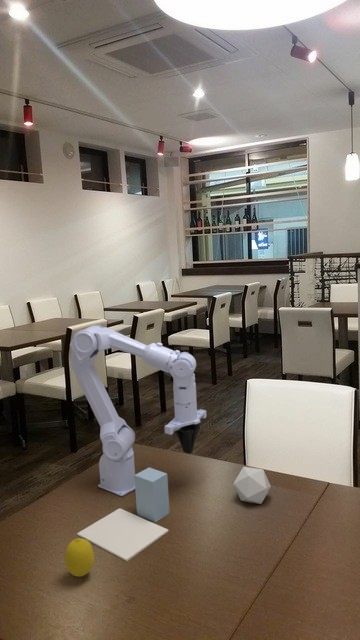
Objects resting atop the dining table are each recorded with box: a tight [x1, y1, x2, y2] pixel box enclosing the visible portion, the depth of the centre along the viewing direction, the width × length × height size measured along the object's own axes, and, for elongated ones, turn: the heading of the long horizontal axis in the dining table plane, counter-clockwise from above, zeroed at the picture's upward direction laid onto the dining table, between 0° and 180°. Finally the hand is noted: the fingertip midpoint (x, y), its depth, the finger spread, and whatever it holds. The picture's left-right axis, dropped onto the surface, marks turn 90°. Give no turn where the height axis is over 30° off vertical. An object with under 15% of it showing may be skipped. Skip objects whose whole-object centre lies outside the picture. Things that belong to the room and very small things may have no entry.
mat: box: [76, 507, 170, 562], centre depth 110 cm, size 16×13×1 cm
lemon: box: [64, 537, 95, 578], centre depth 96 cm, size 6×6×8 cm
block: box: [134, 467, 171, 523], centre depth 117 cm, size 6×5×10 cm
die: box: [233, 466, 272, 505], centre depth 121 cm, size 8×9×10 cm
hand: (187, 452), depth 127 cm, fingers closed
